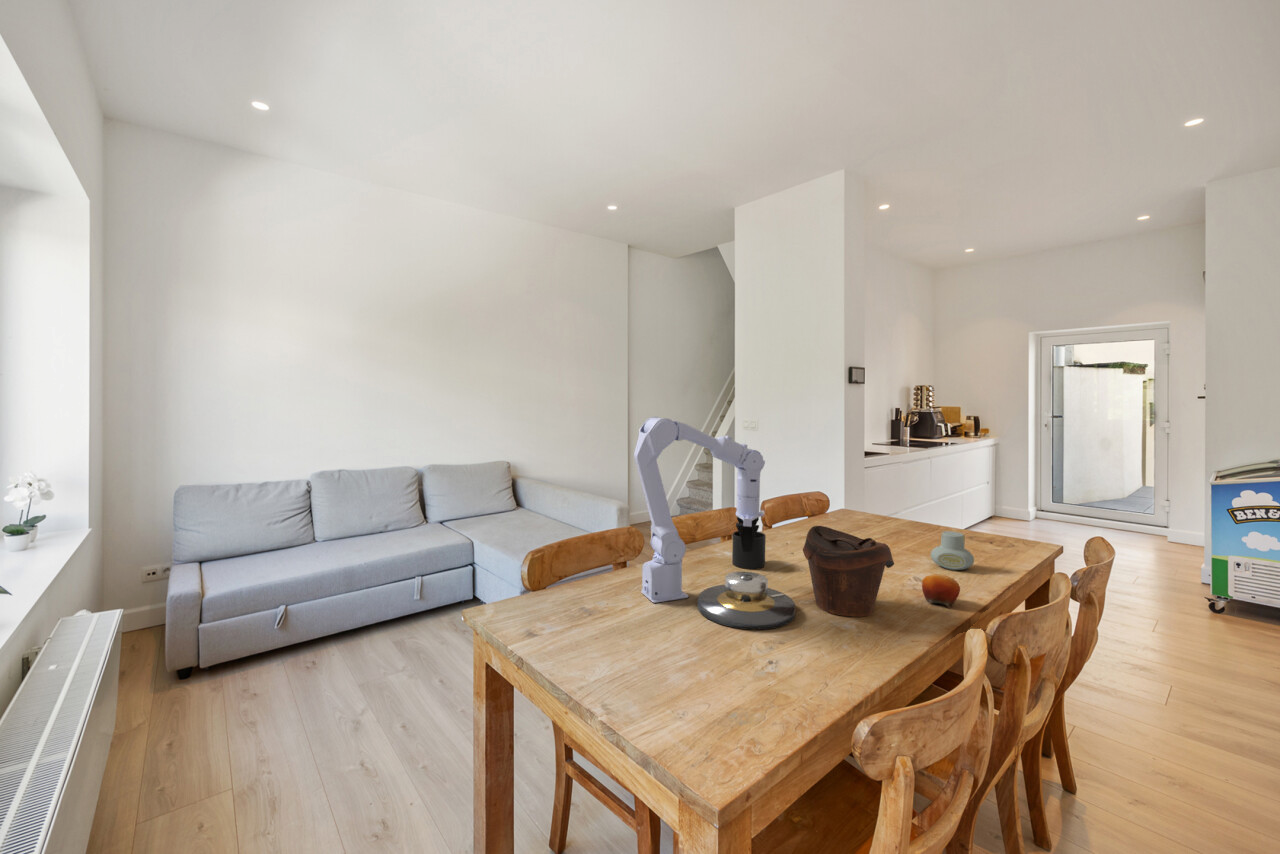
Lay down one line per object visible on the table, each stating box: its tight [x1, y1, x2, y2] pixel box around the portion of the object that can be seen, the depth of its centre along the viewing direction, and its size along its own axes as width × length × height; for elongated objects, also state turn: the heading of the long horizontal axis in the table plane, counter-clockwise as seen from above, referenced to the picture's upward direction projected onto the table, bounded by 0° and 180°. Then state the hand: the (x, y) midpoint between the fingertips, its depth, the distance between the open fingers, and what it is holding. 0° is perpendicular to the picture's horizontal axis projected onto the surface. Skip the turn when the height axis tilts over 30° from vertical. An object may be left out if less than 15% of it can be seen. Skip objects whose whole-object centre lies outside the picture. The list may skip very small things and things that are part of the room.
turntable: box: [697, 584, 796, 630], centre depth 125 cm, size 22×22×2 cm
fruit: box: [921, 573, 961, 609], centre depth 130 cm, size 8×8×8 cm
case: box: [802, 525, 895, 618], centre depth 126 cm, size 18×20×18 cm
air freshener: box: [930, 530, 975, 571], centre depth 157 cm, size 11×8×10 cm
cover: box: [724, 571, 769, 600], centre depth 129 cm, size 10×10×4 cm
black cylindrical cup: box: [731, 530, 767, 570], centre depth 159 cm, size 9×12×9 cm
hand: (747, 547), depth 139 cm, fingers open, 6 cm apart
